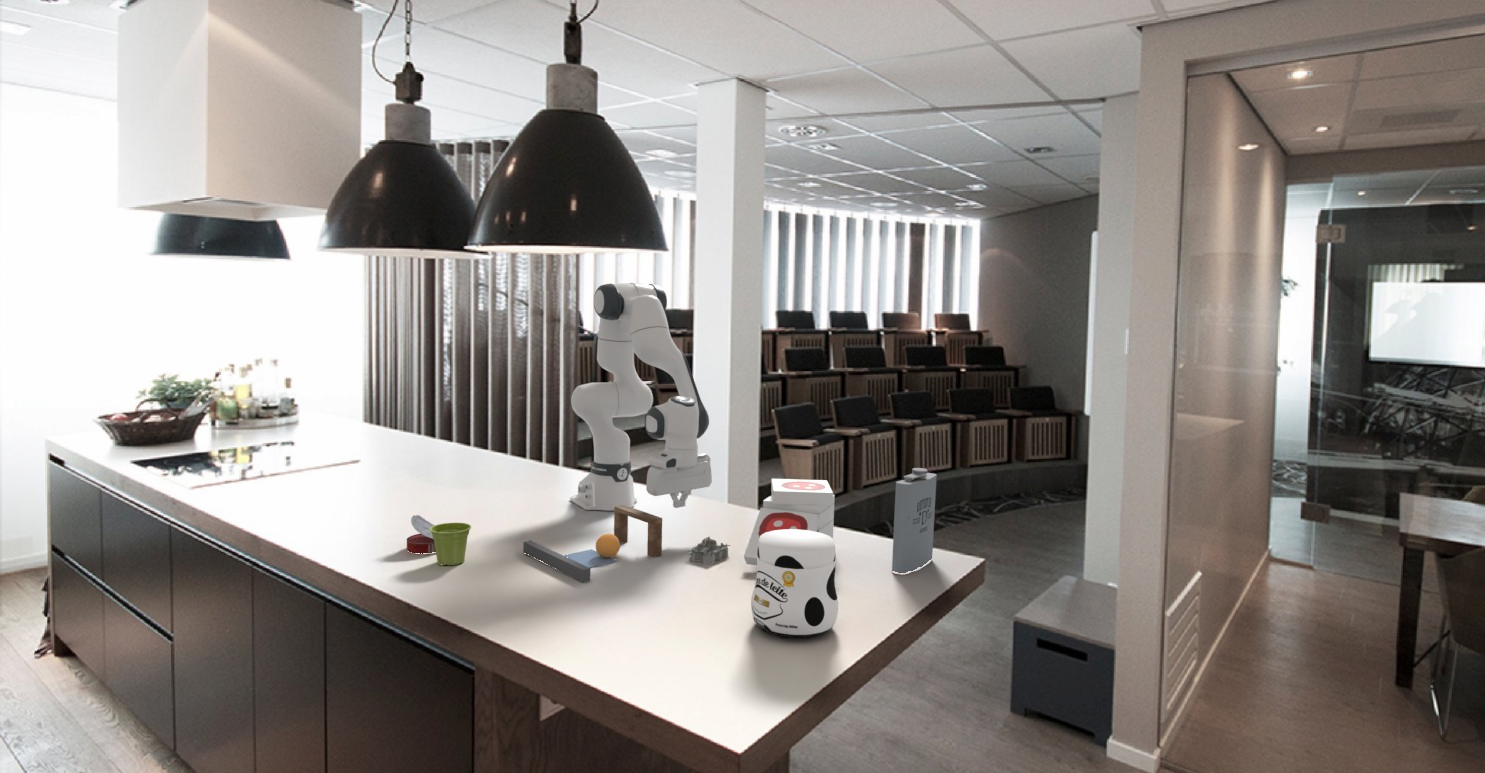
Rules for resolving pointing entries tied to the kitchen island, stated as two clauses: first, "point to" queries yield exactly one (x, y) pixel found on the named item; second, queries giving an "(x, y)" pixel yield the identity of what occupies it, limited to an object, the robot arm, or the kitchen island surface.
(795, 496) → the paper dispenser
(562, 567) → the stopper wall
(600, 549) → the ball
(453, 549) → the plant pot
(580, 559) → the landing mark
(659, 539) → the bridge
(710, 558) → the egg carton
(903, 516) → the flask
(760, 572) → the milk container
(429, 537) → the canned food
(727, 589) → the kitchen island surface
